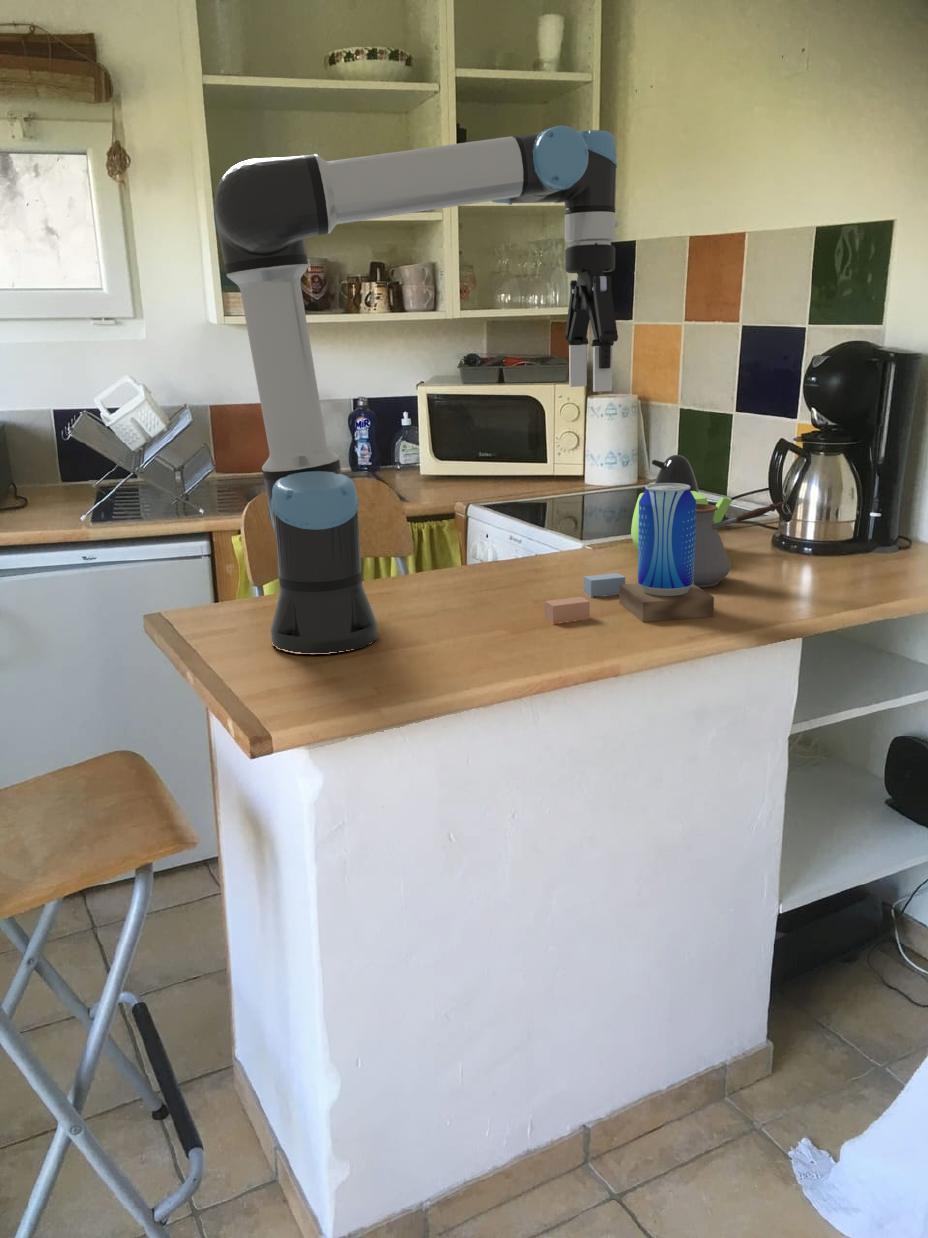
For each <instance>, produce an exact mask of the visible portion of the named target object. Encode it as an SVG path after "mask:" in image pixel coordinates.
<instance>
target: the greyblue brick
mask: <svg viewBox="0 0 928 1238" xmlns="http://www.w3.org/2000/svg"><path fill="white" fill-rule="evenodd" d="M622 584H626V576H624V575H622V574H620V573H618V572H612V573H604V574H595V575H594V574H593V575H588V576H587V575H585V576H583V593H584V592H585V593H587V594H588V595H590V596H591V597H592V596H600V597H604V596H603V595H609V596H616V595H615V594H618V595H620V585H622ZM588 595H587V596H588ZM591 597H590V598H591ZM592 598H593V597H592Z"/></svg>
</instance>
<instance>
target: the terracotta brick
mask: <svg viewBox="0 0 928 1238" xmlns="http://www.w3.org/2000/svg"><path fill="white" fill-rule="evenodd" d="M590 605H591V603H590V600H588V599H586V598H584V597H582V596H577V597H576V596H575V597H569V598H568V597H567V598H559V599H551V600H544V620H545V619H547V620H548V621H550V622H552V623H559V622H566V621H574V620H582V621H585V620H584V619H589V620H590V616H591V615H590V614H591V613H590V611H591V610H590V607H591V606H590ZM547 620H546V621H547ZM548 621H547V622H548ZM550 622H549V623H550ZM574 622H575V621H574ZM552 623H551V624H552ZM559 624H560V623H559Z"/></svg>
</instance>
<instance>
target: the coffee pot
mask: <svg viewBox="0 0 928 1238" xmlns="http://www.w3.org/2000/svg"><path fill="white" fill-rule="evenodd" d="M785 506H787V508H788V512H786V511H785V509H784V507H785ZM717 509H718V507H717V506H715V505H713V504H709V503H708V504H696V530H695V562H694V585H696V586H697V587H699V588H708V587H714V586H717V585H719V584H720V582H721V581H722V580H724V579H725V578H726V577H727V576H728V575H729V573H730V571H731V569H732V564H731V561H730V559H729V556H728V554H727V552H726V551H727V550H726V549H725V546H724V544H723V542H722V541H723V540H722V538H721V536H720V534H719V531H718V529H720V528H723V527H726V526H728V525H731V524H734V523H737V522H742V521H745V520H749V519H754V518H757V517H760V516H763V515H765V514H766V513H769V512H775V511H776V509H781V510H782V512H783V513H784V515H788V516H789V514H791V509H790V505H789V504H788V503H787V502H786V501H780V502H778V503H774V504H773V503H770V505H769V506H763V507H758V508H755V509H752V510H750V511H747V512H744V513H742V514H740V515H737V516H736V517H732V518H729V519H725V520H721V522H718V523H714V520H713V517H714V514H715V511H716V510H717Z"/></svg>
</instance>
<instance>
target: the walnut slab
mask: <svg viewBox="0 0 928 1238" xmlns="http://www.w3.org/2000/svg"><path fill="white" fill-rule="evenodd" d="M714 603H715V597H714V595H712V594H710V593H708V592H707V591H705V590H703V589H702V588H701V587H697V586H696V585H694V584H693V585H692V586H691V587H690V589H689V591H688V592H687V593H685V594H683V595H677V596H656V595H651V594H647V593H645V592H643V590H642V587H641V586H640V585H639V584H638V582H637V583H625V584H622V585H620V594H619V604H620V605H621V606H622V607H623V608H625V609H626V610H627V611H628V612H630V613H631V614H632V615H633V616H634V617H636V618H637V619H638V620H640V621H641V622H642V623H645V622H646V623H647V622H648V623H649V622H659V621H660V622H661V621H671V620H673V621H674V620H684V619H685V620H686V619H697V618H708V617H714V608H715V607H714V605H715V604H714Z"/></svg>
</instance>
